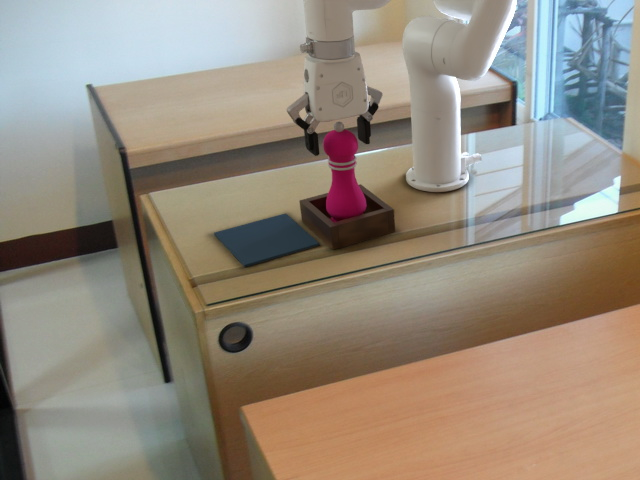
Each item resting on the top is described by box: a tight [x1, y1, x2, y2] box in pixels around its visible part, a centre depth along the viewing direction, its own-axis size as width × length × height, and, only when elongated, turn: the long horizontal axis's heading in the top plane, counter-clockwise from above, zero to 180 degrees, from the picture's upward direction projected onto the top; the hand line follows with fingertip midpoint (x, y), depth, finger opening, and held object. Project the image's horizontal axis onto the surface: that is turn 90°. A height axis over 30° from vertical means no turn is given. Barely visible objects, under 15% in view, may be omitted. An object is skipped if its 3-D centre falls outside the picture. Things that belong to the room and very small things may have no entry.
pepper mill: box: [322, 121, 366, 222], centre depth 166 cm, size 7×7×20 cm
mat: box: [213, 212, 320, 268], centre depth 167 cm, size 14×14×1 cm
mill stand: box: [298, 183, 396, 251], centre depth 171 cm, size 13×13×4 cm
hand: (339, 147), depth 163 cm, fingers open, 9 cm apart
